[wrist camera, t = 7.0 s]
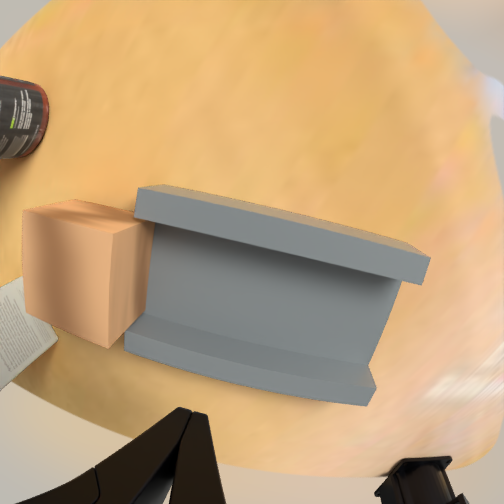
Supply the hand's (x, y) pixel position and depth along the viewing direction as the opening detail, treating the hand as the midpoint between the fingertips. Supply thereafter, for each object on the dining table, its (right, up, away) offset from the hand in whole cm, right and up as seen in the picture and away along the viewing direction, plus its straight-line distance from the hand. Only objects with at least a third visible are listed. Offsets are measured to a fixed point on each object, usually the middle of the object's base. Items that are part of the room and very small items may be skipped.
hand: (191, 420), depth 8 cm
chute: (+3, +2, +11) cm, 12 cm away
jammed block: (-7, +5, +11) cm, 14 cm away
